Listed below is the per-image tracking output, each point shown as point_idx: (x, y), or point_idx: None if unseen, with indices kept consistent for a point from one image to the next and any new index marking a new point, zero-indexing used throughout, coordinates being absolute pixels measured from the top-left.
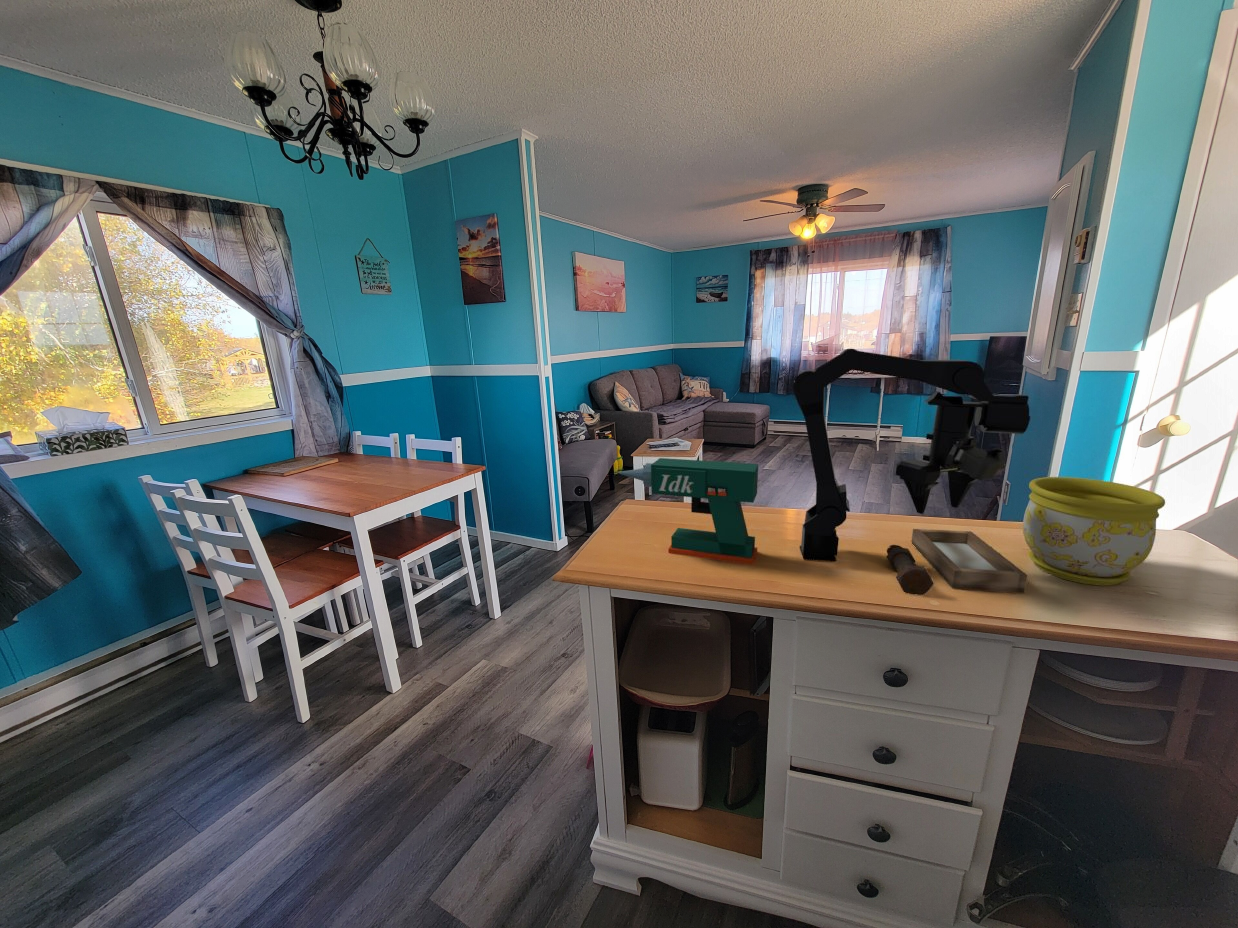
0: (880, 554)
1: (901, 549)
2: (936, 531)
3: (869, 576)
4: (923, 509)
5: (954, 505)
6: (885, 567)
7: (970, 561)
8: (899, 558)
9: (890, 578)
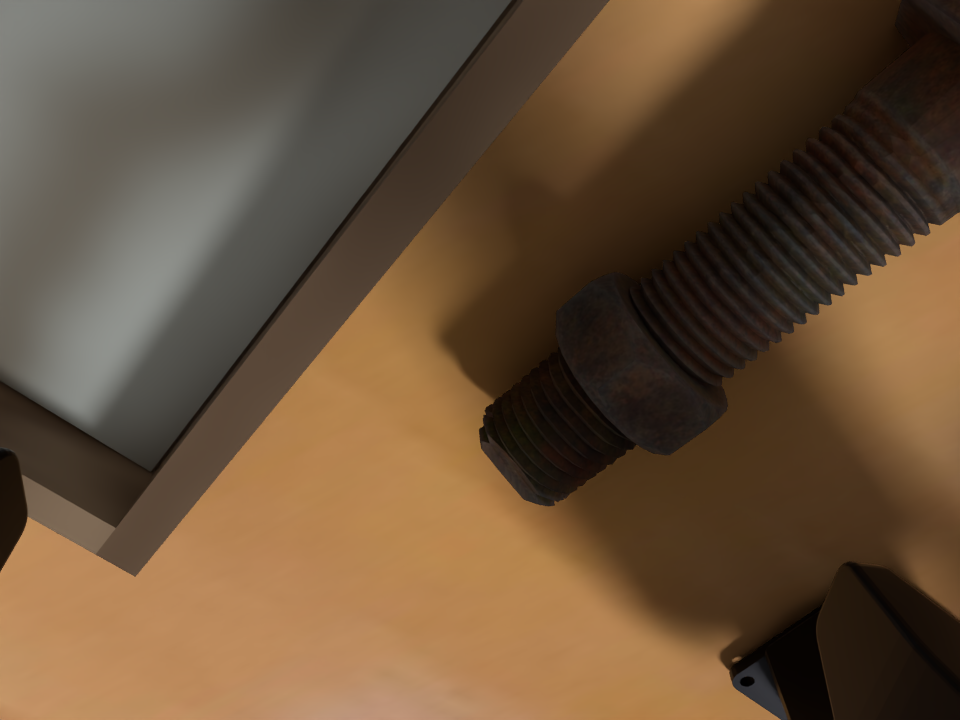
0: None
1: (661, 406)
2: None
3: (927, 357)
4: (938, 617)
5: (3, 499)
6: None
7: (122, 75)
8: (771, 340)
9: None
